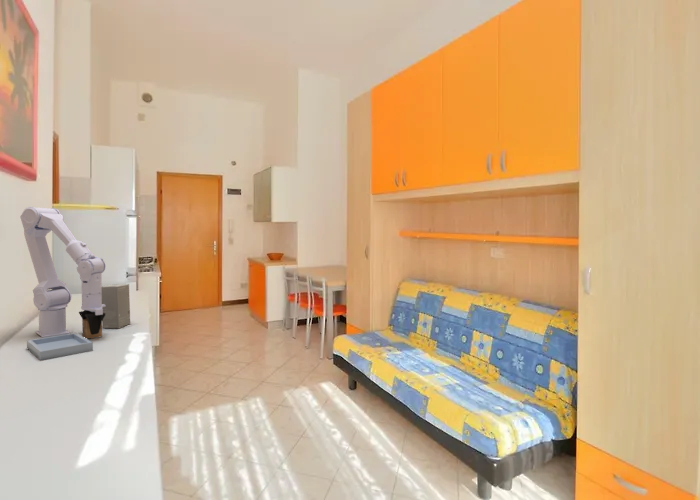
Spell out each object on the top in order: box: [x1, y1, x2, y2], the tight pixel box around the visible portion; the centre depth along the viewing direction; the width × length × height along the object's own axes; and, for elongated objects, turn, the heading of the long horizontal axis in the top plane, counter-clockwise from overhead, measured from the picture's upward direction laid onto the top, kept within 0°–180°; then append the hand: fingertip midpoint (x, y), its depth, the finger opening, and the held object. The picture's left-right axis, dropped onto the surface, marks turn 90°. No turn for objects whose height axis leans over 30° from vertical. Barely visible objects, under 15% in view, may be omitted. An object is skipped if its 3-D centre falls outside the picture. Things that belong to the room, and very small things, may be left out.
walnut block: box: [81, 318, 103, 340], centre depth 138 cm, size 4×4×6 cm
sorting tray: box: [26, 332, 94, 361], centre depth 123 cm, size 16×13×2 cm
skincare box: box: [102, 283, 131, 329], centre depth 152 cm, size 8×7×16 cm
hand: (92, 332), depth 138 cm, fingers closed on walnut block, 4 cm apart
